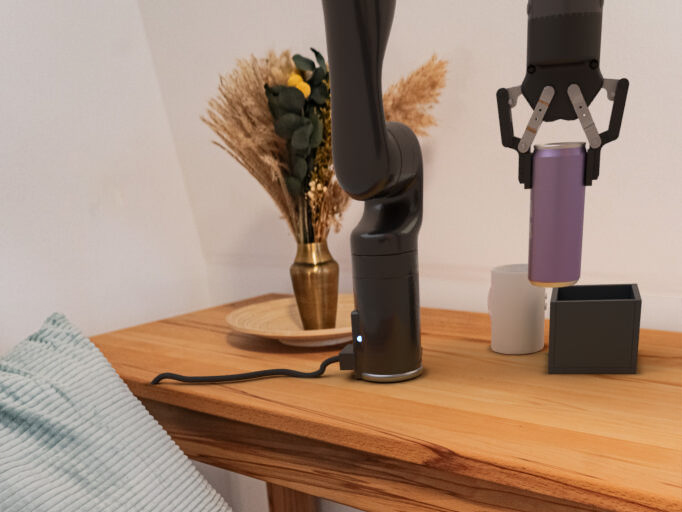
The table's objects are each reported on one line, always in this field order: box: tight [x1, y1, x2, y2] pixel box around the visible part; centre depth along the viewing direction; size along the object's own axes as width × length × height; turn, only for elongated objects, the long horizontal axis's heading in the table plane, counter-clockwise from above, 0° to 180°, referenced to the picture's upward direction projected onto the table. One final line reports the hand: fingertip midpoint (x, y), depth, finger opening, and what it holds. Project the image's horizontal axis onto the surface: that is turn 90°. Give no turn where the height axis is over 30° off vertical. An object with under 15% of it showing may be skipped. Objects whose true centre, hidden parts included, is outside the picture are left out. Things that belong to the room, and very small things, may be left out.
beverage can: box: [527, 141, 587, 289], centre depth 95 cm, size 6×6×15 cm
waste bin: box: [547, 283, 643, 375], centre depth 117 cm, size 12×12×10 cm
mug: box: [487, 263, 548, 355], centre depth 129 cm, size 8×12×12 cm
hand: (557, 186), depth 94 cm, fingers closed on beverage can, 6 cm apart
